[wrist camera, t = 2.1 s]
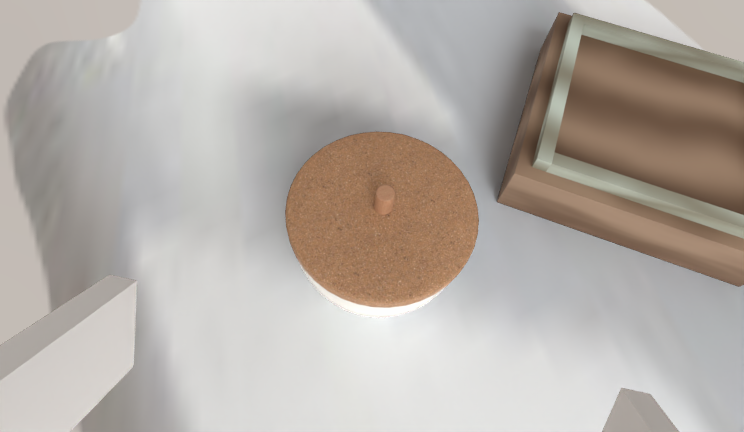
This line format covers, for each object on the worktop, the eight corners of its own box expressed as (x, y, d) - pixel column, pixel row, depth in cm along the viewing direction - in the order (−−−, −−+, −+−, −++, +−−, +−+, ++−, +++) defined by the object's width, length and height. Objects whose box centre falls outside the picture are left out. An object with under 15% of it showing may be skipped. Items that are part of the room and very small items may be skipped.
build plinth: (738, 286, 32) (802, 260, 28) (496, 201, 34) (519, 165, 30) (736, 108, 40) (785, 66, 36) (540, 48, 42) (564, 2, 38)
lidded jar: (279, 219, 32) (257, 140, 24) (413, 177, 35) (434, 92, 26) (326, 362, 28) (320, 326, 20) (476, 303, 30) (526, 249, 22)
